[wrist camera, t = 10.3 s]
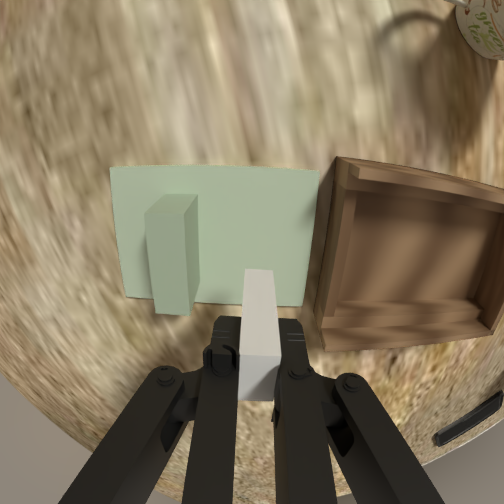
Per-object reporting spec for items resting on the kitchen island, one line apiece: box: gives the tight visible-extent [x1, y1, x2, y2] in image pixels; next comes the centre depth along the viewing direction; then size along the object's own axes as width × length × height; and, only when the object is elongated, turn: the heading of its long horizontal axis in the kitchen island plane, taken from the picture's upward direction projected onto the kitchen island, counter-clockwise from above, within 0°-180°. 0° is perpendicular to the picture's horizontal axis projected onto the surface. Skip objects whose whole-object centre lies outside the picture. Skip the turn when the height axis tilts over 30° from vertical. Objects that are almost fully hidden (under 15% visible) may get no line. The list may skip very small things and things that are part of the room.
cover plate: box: [110, 165, 320, 316], centre depth 20 cm, size 15×11×6 cm
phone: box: [435, 390, 504, 447], centre depth 37 cm, size 8×1×15 cm
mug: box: [445, 0, 504, 60], centre depth 9 cm, size 8×13×10 cm, turn 90°
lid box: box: [313, 156, 504, 351], centre depth 20 cm, size 18×13×5 cm
